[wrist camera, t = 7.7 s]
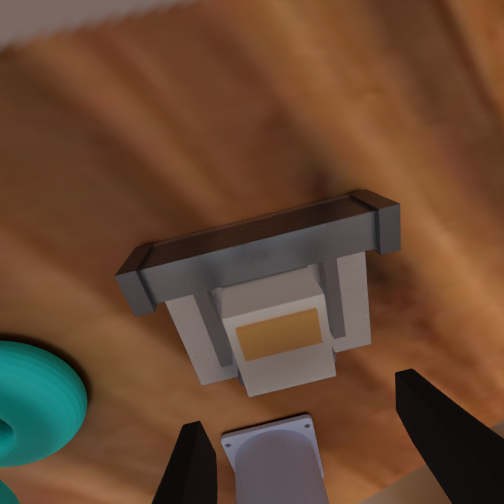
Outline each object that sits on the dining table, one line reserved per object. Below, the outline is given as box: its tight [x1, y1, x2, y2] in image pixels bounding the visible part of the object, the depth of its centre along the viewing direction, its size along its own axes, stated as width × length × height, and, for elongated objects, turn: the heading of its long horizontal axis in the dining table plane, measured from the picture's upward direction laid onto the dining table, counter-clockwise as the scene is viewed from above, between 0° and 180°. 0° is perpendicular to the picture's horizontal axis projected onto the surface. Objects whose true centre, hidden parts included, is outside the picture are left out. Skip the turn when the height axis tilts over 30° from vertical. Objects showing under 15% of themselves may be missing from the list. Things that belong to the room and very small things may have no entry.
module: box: [222, 266, 336, 397], centre depth 15 cm, size 5×4×6 cm
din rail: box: [115, 189, 401, 386], centre depth 17 cm, size 12×14×4 cm
